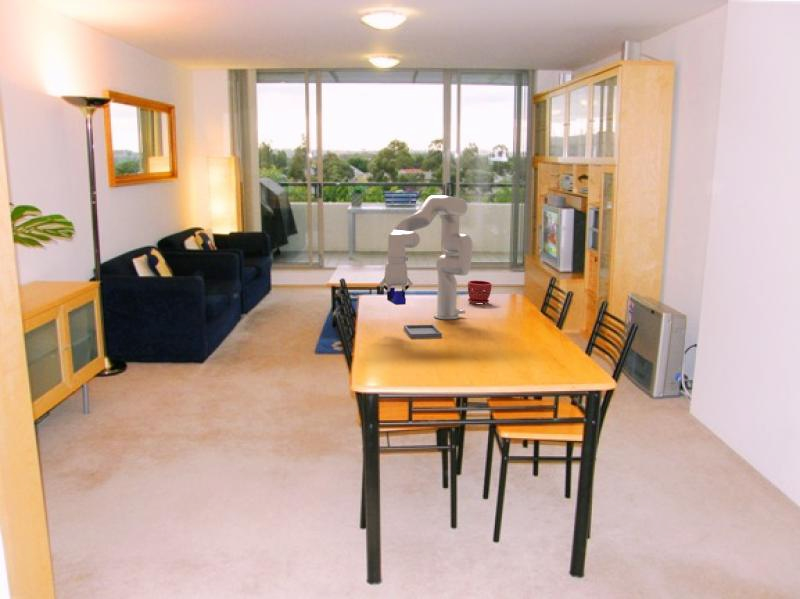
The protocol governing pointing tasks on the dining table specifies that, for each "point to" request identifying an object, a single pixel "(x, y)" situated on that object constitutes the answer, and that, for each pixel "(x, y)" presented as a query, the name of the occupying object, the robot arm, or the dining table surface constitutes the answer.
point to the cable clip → (397, 297)
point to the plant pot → (479, 291)
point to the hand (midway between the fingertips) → (396, 299)
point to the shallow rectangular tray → (422, 331)
